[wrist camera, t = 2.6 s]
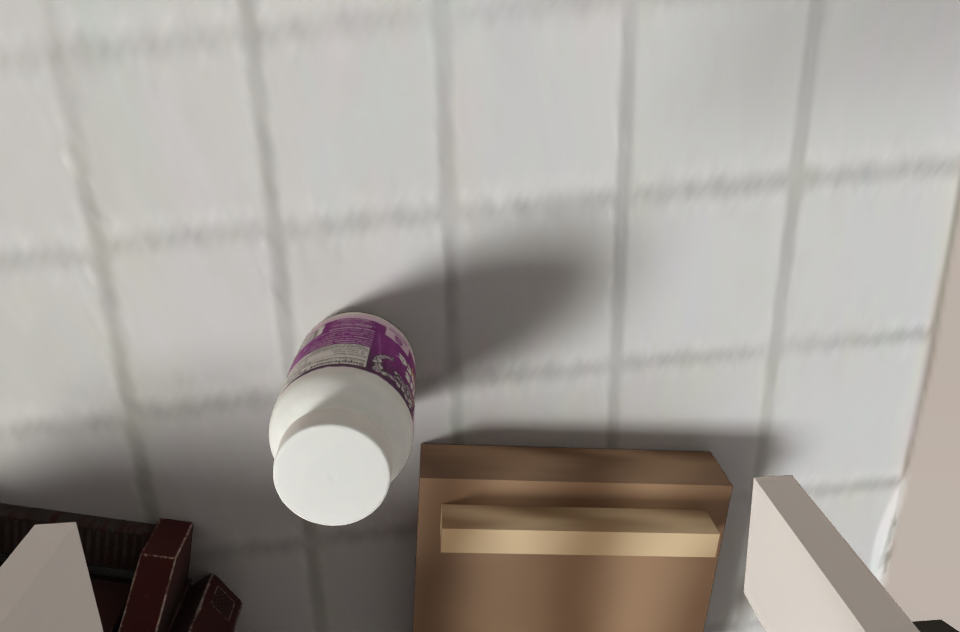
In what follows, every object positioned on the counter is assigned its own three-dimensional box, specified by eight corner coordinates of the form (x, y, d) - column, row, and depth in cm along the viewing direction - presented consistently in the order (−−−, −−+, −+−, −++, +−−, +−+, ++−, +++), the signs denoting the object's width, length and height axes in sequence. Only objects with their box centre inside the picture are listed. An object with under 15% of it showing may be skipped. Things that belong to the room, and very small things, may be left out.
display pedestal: (411, 645, 41) (409, 722, 37) (420, 443, 37) (419, 501, 33) (673, 648, 42) (702, 722, 38) (710, 452, 38) (747, 509, 34)
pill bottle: (429, 401, 36) (429, 526, 27) (318, 428, 36) (281, 561, 27) (399, 294, 34) (387, 389, 25) (281, 322, 35) (228, 428, 26)
